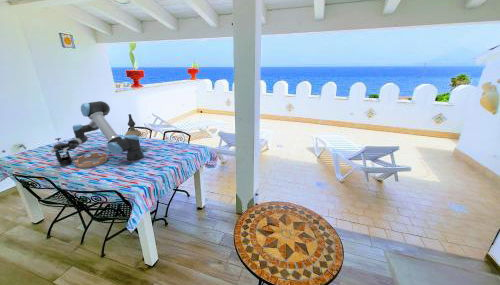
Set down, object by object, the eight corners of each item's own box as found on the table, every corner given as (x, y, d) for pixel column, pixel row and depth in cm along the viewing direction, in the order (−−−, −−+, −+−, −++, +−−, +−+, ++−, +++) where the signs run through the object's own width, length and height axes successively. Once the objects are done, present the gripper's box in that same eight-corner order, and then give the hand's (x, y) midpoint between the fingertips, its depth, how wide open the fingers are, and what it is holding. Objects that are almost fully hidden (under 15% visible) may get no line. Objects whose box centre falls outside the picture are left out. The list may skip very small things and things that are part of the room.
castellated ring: (113, 158, 200) (111, 153, 198) (93, 169, 178) (91, 163, 176) (91, 156, 203) (90, 151, 201) (69, 167, 181) (67, 161, 179)
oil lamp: (125, 152, 214) (117, 115, 201) (135, 147, 228) (128, 112, 214) (137, 153, 212) (131, 116, 198) (147, 148, 226) (141, 113, 212)
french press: (65, 159, 191) (57, 136, 183) (75, 159, 191) (68, 136, 183) (54, 165, 180) (45, 140, 172) (65, 165, 180) (57, 140, 172)
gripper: (87, 146, 201) (72, 154, 180) (63, 147, 198) (45, 156, 177) (85, 138, 198) (69, 147, 177) (61, 139, 195) (42, 148, 174)
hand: (57, 151), depth 177 cm, fingers closed on french press, 9 cm apart
